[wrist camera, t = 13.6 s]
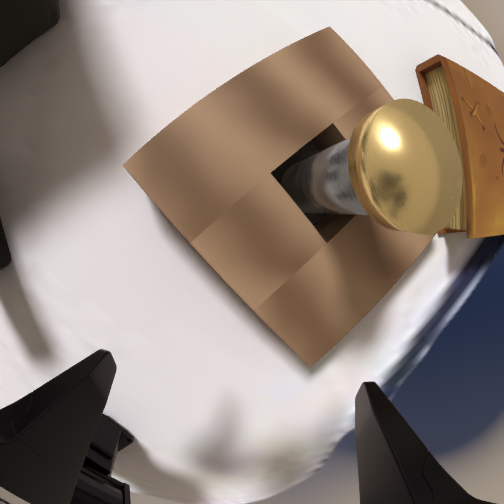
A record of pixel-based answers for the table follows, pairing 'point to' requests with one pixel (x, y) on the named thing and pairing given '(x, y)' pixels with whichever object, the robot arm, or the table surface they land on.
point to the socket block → (278, 192)
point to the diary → (470, 141)
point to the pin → (385, 171)
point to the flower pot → (24, 23)
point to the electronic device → (3, 249)
